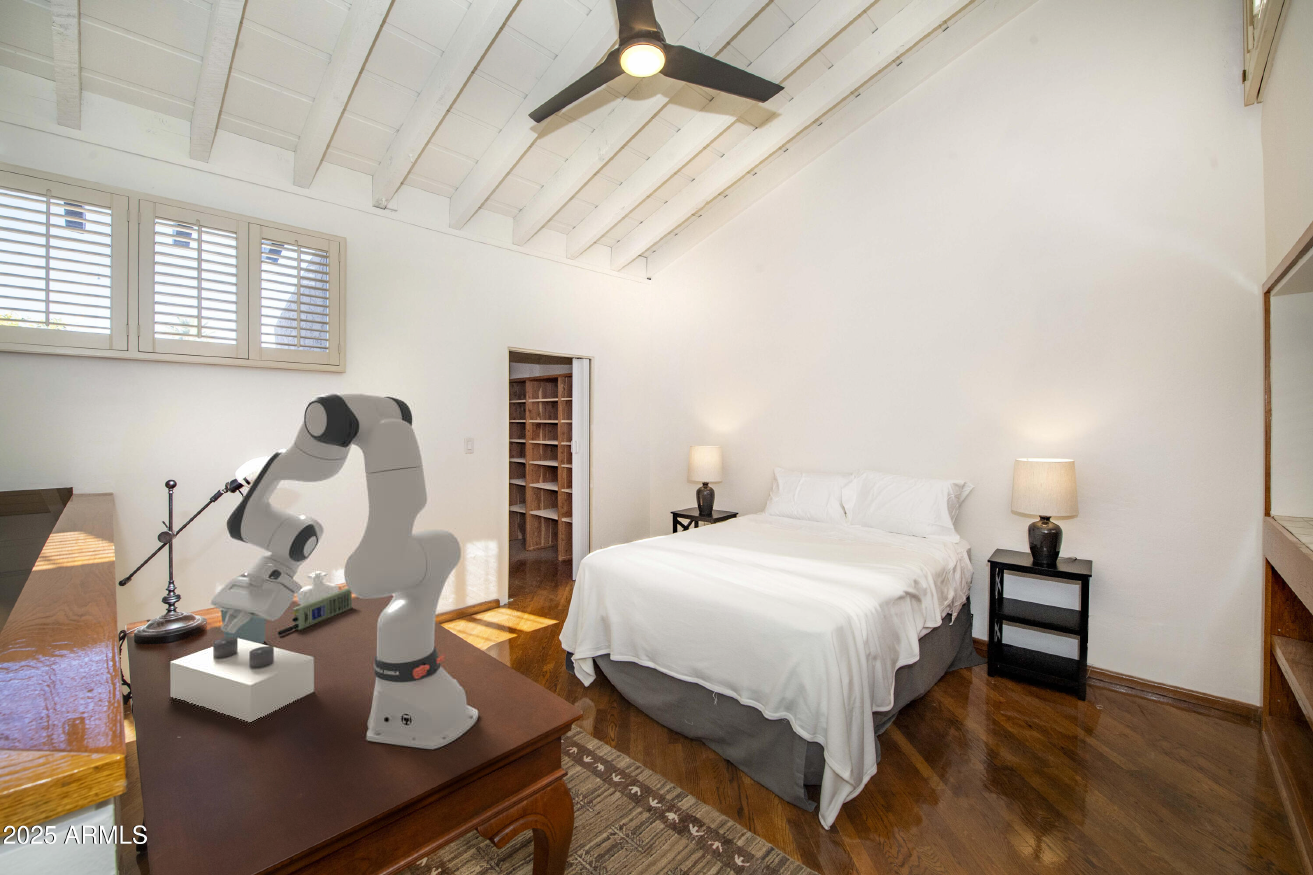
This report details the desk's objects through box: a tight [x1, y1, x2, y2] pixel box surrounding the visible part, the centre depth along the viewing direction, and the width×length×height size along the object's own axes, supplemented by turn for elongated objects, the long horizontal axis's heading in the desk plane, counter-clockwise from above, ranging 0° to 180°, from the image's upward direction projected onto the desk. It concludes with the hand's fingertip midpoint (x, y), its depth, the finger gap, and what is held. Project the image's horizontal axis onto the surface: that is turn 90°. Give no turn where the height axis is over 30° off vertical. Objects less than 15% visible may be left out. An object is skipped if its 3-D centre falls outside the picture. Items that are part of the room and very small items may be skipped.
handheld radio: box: [277, 587, 353, 636], centre depth 166 cm, size 7×3×25 cm
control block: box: [169, 638, 315, 723], centre depth 123 cm, size 26×14×8 cm, turn 70°
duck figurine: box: [295, 570, 340, 606], centre depth 182 cm, size 12×8×11 cm
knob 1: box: [212, 637, 238, 658], centre depth 125 cm, size 4×4×7 cm
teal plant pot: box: [220, 610, 267, 645], centre depth 148 cm, size 10×10×12 cm
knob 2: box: [249, 645, 274, 669], centre depth 121 cm, size 4×4×7 cm
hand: (226, 631), depth 125 cm, fingers closed
